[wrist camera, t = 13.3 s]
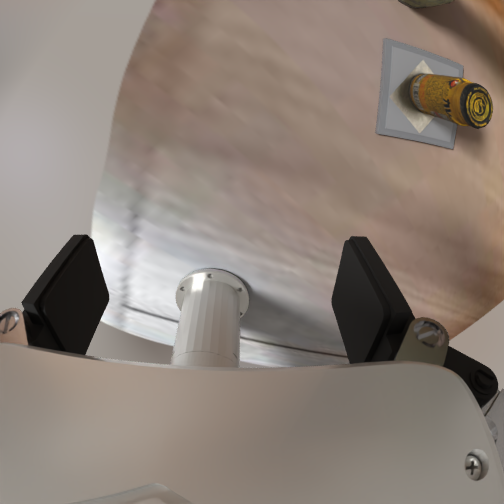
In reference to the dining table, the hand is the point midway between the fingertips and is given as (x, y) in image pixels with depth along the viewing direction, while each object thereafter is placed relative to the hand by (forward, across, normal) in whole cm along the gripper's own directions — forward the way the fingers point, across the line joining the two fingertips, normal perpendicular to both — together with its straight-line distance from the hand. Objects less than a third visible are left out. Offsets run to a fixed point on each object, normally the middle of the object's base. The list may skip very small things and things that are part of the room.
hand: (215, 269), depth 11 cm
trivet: (+30, -26, -8) cm, 41 cm away
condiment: (+30, -25, -8) cm, 40 cm away
